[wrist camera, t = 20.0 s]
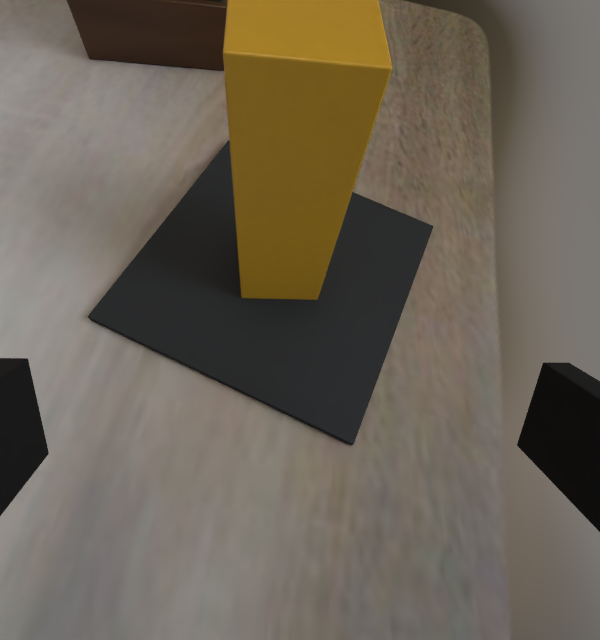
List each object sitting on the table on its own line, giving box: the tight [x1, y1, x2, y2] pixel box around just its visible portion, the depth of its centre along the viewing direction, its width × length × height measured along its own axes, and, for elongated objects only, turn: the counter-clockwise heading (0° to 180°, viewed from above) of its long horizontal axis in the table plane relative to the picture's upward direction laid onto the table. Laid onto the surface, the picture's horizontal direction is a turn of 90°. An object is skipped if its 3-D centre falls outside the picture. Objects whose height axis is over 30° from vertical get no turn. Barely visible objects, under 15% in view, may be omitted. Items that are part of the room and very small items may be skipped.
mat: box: [88, 141, 433, 445], centre depth 21 cm, size 14×14×1 cm
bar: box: [223, 0, 392, 300], centre depth 15 cm, size 4×4×12 cm
